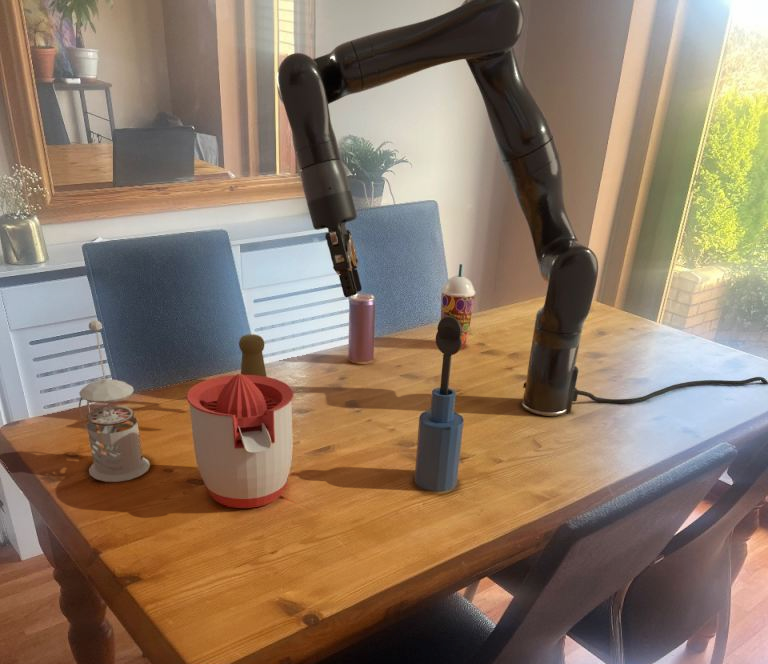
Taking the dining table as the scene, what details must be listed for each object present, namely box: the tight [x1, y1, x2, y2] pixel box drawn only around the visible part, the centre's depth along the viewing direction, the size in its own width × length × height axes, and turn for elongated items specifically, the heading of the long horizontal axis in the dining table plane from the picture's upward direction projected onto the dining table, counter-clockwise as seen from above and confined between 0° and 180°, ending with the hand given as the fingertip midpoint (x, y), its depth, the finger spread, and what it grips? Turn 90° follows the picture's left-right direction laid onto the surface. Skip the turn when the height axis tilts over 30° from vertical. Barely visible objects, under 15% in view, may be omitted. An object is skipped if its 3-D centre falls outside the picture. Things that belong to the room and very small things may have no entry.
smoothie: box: [440, 263, 477, 349], centre depth 177 cm, size 8×8×20 cm
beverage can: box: [347, 293, 376, 365], centre depth 166 cm, size 6×6×15 cm
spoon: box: [435, 316, 462, 395], centre depth 113 cm, size 1×4×28 cm, turn 53°
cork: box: [238, 333, 268, 377], centre depth 151 cm, size 6×6×11 cm
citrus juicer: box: [186, 373, 294, 509], centre depth 110 cm, size 16×17×20 cm
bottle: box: [414, 387, 465, 493], centre depth 116 cm, size 7×7×16 cm
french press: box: [78, 319, 151, 483], centre depth 115 cm, size 10×12×25 cm
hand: (353, 294), depth 124 cm, fingers open, 8 cm apart
